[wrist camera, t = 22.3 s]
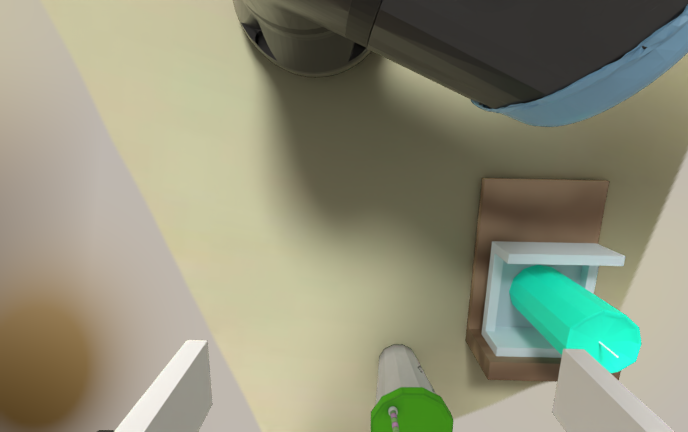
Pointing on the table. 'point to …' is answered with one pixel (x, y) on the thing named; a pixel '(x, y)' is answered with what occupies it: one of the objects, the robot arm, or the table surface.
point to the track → (528, 226)
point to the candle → (575, 317)
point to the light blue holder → (506, 263)
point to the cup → (406, 396)
